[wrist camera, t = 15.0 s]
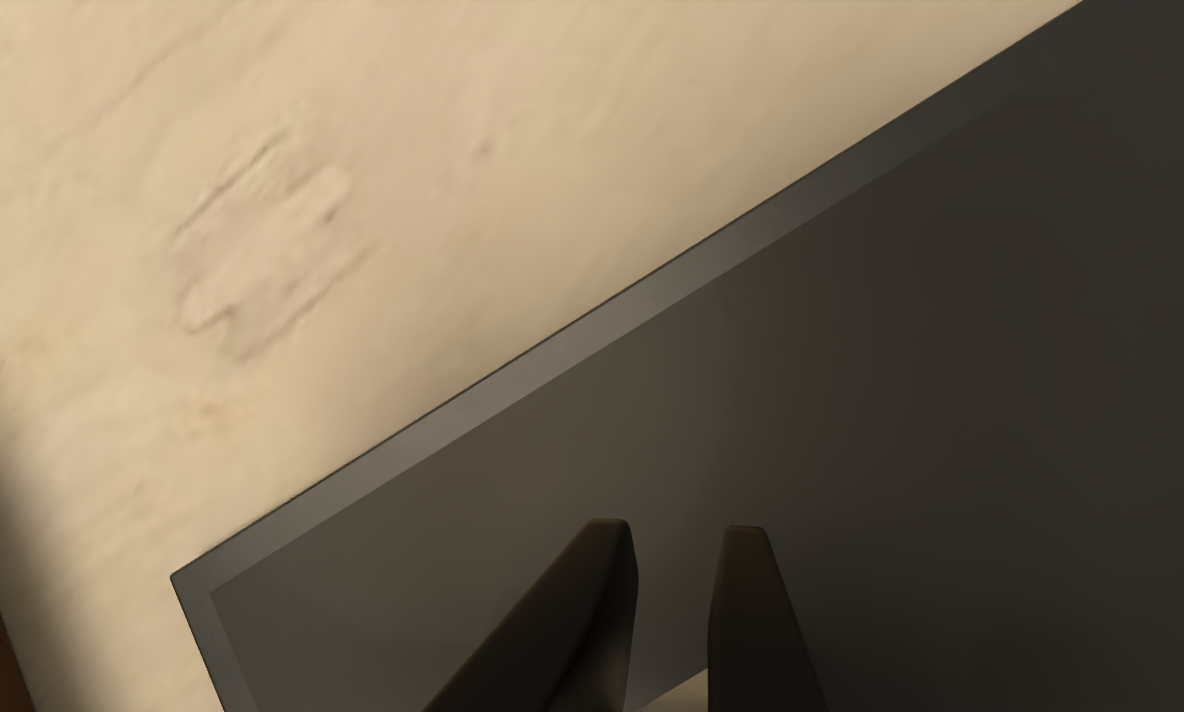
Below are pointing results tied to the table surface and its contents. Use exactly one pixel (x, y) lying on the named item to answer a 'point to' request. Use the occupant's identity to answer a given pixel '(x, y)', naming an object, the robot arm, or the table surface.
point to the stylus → (683, 697)
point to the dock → (11, 680)
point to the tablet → (813, 428)
